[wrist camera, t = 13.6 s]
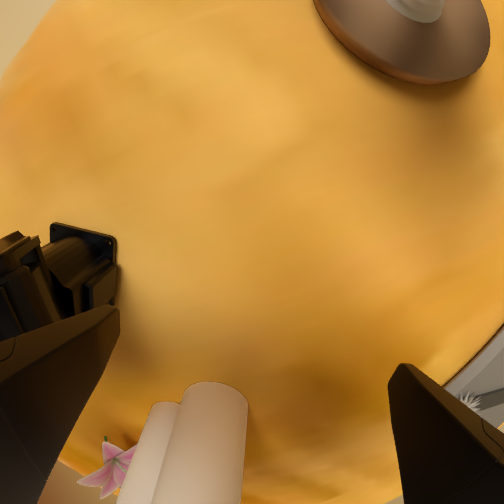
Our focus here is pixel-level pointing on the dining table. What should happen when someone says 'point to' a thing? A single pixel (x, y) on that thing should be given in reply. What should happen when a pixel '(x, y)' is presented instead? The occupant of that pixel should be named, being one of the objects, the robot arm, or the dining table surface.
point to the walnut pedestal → (411, 38)
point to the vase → (190, 450)
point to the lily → (110, 469)
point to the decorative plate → (483, 382)
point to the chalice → (419, 9)
